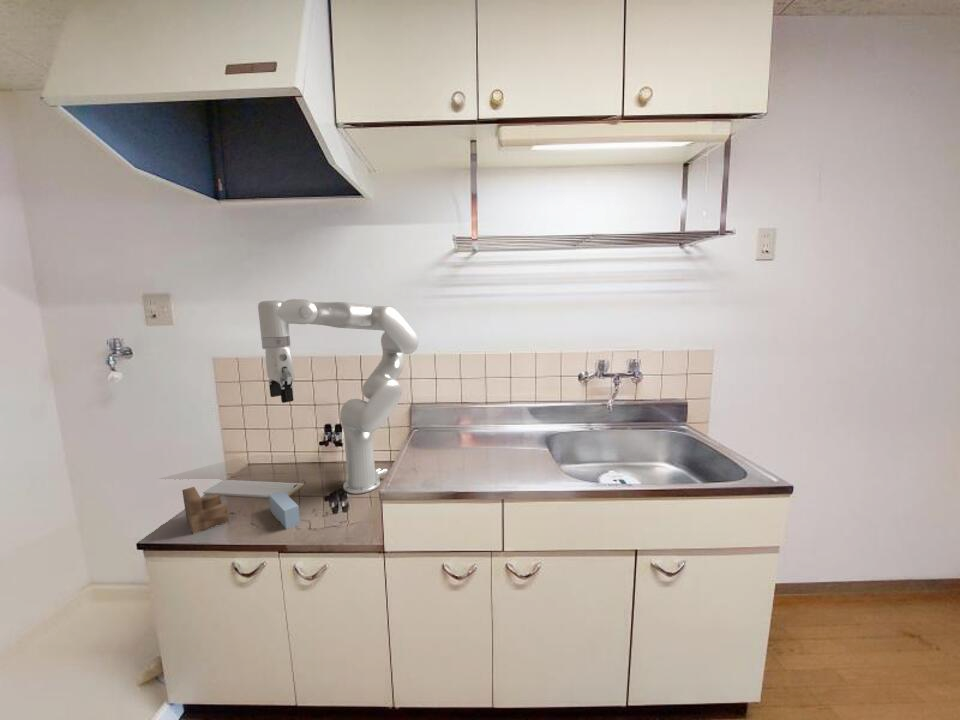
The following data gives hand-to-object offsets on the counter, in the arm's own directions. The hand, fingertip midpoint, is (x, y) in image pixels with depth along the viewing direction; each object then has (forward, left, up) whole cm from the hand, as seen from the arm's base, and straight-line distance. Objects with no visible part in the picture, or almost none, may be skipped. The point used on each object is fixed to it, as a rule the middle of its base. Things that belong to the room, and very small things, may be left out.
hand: (281, 398), depth 122 cm
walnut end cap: (+21, -13, -37) cm, 44 cm away
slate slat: (+3, +2, -37) cm, 37 cm away
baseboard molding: (+4, -26, -38) cm, 46 cm away
